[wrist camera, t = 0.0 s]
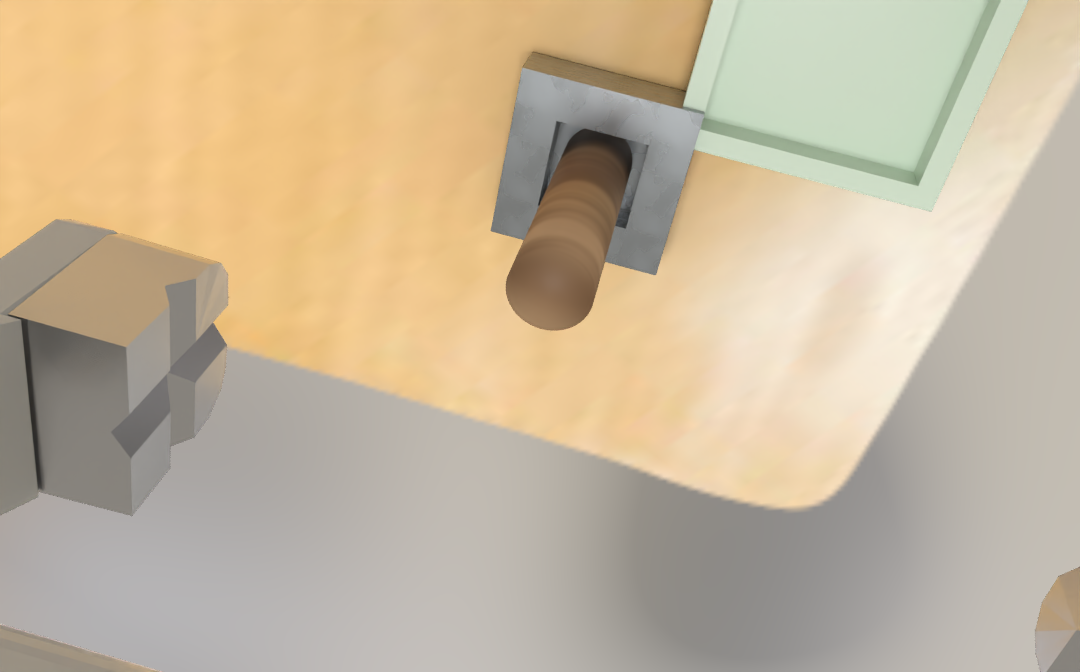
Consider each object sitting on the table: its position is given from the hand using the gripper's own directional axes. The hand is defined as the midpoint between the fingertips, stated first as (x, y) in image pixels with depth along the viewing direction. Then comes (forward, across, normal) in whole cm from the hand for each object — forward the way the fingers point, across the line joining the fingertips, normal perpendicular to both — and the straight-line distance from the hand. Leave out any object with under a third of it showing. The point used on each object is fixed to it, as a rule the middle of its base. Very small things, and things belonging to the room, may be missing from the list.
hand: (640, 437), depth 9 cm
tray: (+48, -8, +7) cm, 49 cm away
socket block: (+48, +3, +17) cm, 51 cm away
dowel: (+48, +3, +17) cm, 51 cm away
